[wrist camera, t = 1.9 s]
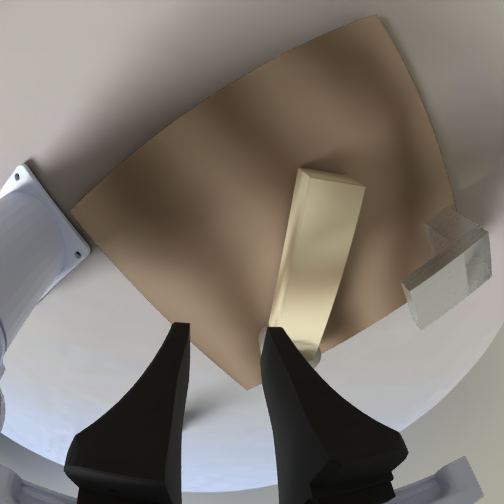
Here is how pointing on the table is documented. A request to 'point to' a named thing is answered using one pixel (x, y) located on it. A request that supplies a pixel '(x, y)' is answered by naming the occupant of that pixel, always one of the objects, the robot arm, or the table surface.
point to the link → (314, 257)
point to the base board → (276, 193)
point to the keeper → (448, 267)
